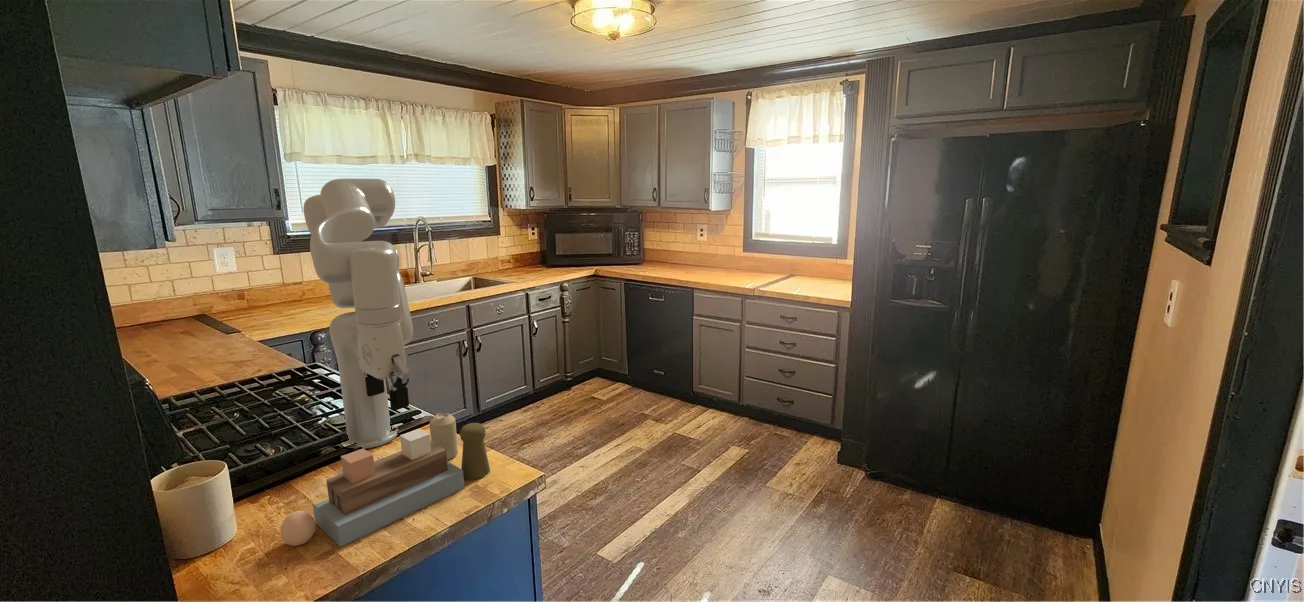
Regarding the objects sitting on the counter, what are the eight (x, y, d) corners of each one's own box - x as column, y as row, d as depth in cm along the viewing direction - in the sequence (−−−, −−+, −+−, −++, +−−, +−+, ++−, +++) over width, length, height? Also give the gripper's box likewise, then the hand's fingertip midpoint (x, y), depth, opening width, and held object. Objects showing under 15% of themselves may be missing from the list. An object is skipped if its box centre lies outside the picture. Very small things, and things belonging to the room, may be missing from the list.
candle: (428, 455, 126) (424, 414, 124) (450, 447, 130) (447, 407, 128) (439, 463, 123) (435, 422, 121) (462, 455, 127) (459, 414, 124)
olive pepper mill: (472, 483, 115) (468, 434, 113) (455, 473, 119) (451, 426, 116) (496, 471, 120) (493, 424, 117) (479, 462, 123) (475, 417, 121)
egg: (310, 530, 100) (306, 500, 98) (322, 541, 96) (317, 511, 95) (278, 544, 96) (273, 513, 94) (289, 556, 93) (284, 525, 91)
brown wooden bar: (329, 501, 101) (326, 479, 100) (430, 459, 116) (429, 440, 115) (344, 515, 97) (341, 492, 96) (447, 470, 112) (446, 449, 111)
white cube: (401, 453, 110) (400, 435, 109) (420, 446, 113) (419, 428, 112) (412, 460, 107) (410, 441, 106) (431, 452, 110) (429, 434, 109)
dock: (315, 522, 102) (312, 502, 101) (435, 470, 120) (434, 453, 119) (340, 546, 95) (337, 526, 94) (464, 487, 113) (462, 470, 112)
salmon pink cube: (343, 476, 101) (340, 456, 100) (365, 467, 104) (363, 448, 104) (352, 483, 99) (350, 463, 98) (375, 474, 102) (373, 454, 101)
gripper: (337, 310, 104) (347, 395, 108) (379, 327, 93) (389, 421, 97) (377, 303, 109) (386, 384, 113) (422, 319, 98) (429, 407, 102)
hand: (387, 401), depth 105 cm, fingers open, 9 cm apart
